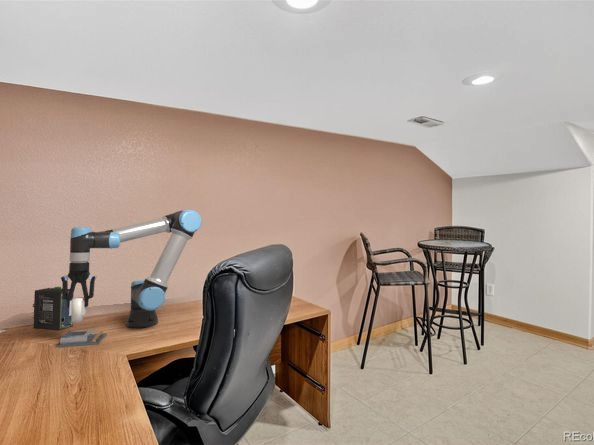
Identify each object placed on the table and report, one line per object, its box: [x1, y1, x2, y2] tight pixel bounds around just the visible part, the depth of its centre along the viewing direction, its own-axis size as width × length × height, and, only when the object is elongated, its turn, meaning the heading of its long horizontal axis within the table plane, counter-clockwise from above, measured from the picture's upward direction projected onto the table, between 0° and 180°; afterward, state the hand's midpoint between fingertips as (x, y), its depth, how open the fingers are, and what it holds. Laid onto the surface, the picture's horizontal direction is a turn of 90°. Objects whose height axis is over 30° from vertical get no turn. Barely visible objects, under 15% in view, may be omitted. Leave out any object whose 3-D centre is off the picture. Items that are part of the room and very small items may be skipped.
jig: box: [55, 329, 108, 348], centre depth 150 cm, size 16×13×4 cm
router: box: [32, 286, 75, 331], centre depth 170 cm, size 8×18×20 cm, turn 78°
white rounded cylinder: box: [71, 296, 84, 323], centre depth 150 cm, size 4×4×10 cm
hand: (77, 314), depth 150 cm, fingers closed on white rounded cylinder, 4 cm apart
